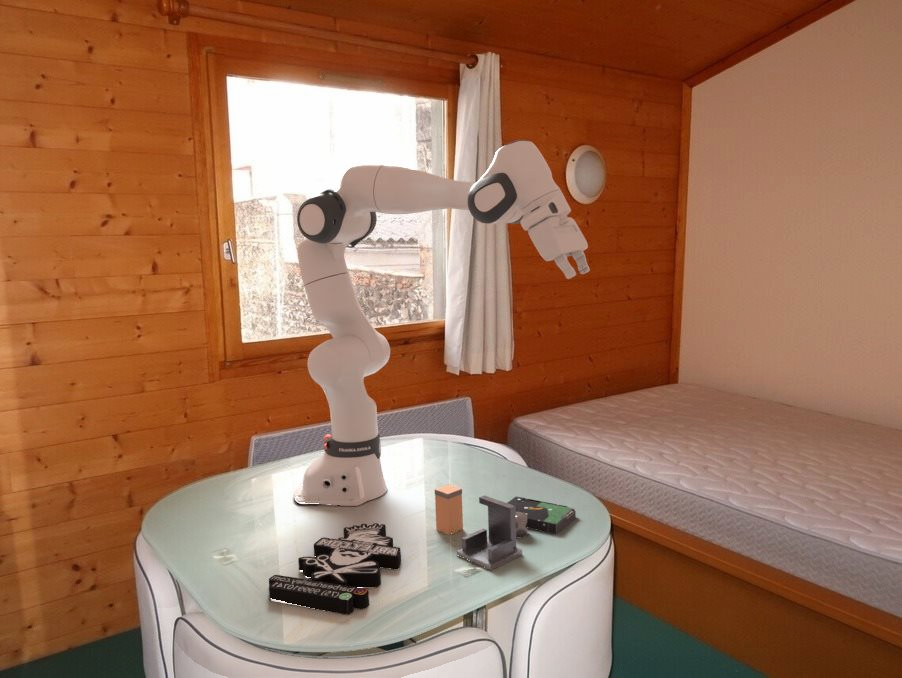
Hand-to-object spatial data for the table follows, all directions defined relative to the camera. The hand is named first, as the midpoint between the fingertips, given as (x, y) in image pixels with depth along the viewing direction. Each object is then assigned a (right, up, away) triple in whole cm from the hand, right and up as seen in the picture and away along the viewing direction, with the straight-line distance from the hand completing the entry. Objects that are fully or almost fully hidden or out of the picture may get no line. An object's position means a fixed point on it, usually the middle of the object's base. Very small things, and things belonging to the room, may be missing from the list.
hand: (579, 275), depth 141 cm
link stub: (-12, -53, +6) cm, 55 cm away
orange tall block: (-26, -53, +9) cm, 60 cm away
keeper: (-18, -55, -3) cm, 58 cm away
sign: (-45, -57, -7) cm, 73 cm away
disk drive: (-7, -53, +13) cm, 55 cm away
